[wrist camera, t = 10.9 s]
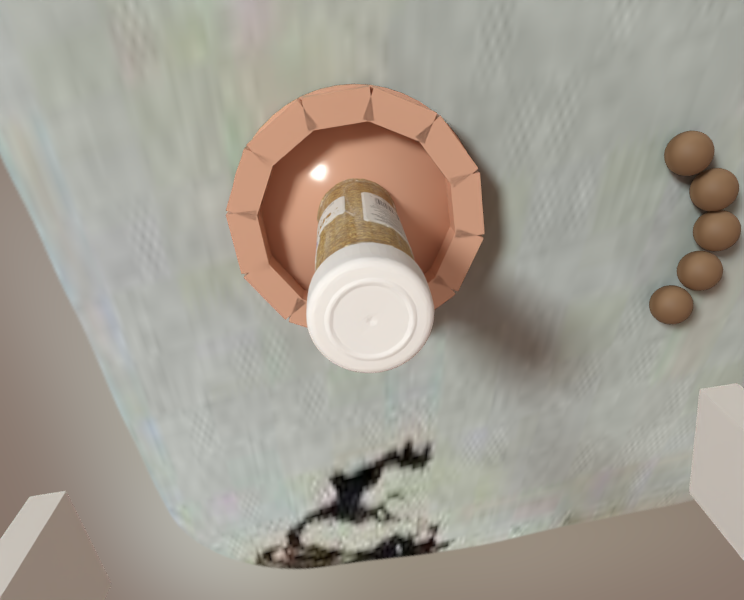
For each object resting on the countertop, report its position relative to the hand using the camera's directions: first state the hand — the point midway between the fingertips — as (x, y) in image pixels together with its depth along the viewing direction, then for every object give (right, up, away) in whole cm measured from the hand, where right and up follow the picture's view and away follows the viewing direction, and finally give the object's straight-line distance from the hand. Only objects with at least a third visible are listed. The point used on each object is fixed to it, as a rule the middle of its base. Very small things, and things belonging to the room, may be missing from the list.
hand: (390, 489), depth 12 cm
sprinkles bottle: (-1, +9, +20) cm, 22 cm away
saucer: (-1, +9, +21) cm, 23 cm away
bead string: (+18, +9, +22) cm, 30 cm away
